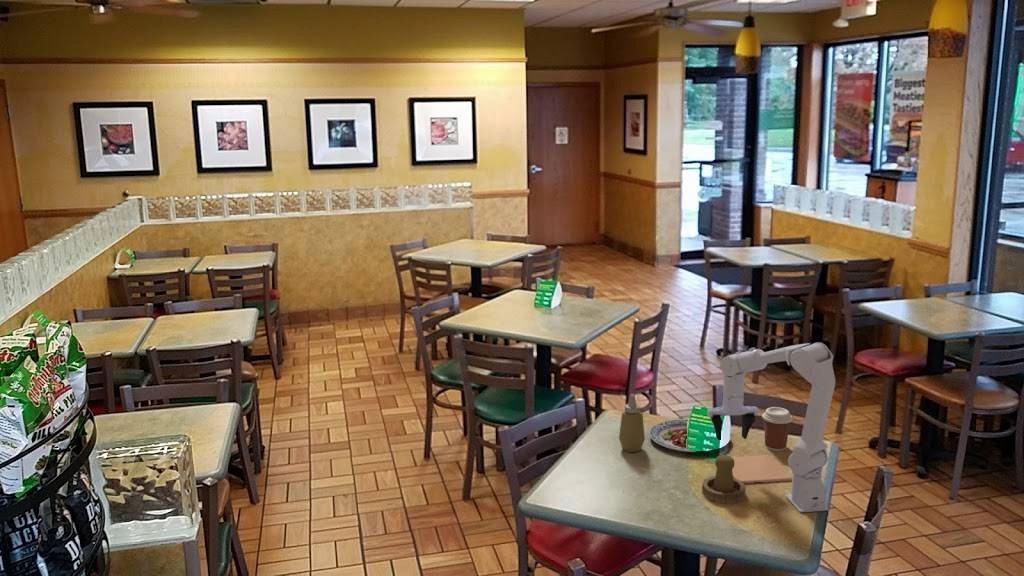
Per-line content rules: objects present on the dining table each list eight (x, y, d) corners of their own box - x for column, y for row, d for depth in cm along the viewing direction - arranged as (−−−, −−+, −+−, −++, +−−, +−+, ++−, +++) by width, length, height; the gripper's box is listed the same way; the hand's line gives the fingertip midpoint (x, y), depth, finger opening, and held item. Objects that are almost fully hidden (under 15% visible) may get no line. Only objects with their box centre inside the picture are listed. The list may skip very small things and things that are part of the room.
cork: (732, 488, 232) (734, 452, 229) (736, 499, 226) (738, 461, 223) (710, 488, 232) (712, 452, 230) (714, 498, 226) (715, 461, 224)
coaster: (791, 480, 236) (791, 477, 236) (737, 483, 234) (737, 481, 234) (769, 457, 251) (769, 454, 251) (718, 460, 250) (718, 457, 250)
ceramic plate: (740, 434, 270) (740, 425, 269) (716, 464, 248) (717, 455, 247) (665, 420, 282) (665, 412, 282) (636, 447, 261) (637, 438, 260)
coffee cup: (755, 441, 263) (757, 406, 260) (783, 440, 264) (785, 404, 261) (767, 453, 254) (769, 417, 251) (795, 451, 255) (798, 415, 252)
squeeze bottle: (613, 446, 261) (614, 393, 257) (635, 441, 265) (636, 388, 261) (627, 456, 254) (628, 401, 250) (649, 451, 257) (650, 396, 253)
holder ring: (751, 501, 224) (751, 493, 223) (710, 504, 223) (710, 496, 222) (735, 482, 235) (736, 474, 235) (697, 485, 234) (697, 477, 233)
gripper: (752, 388, 242) (750, 431, 245) (704, 390, 241) (702, 434, 244) (761, 396, 235) (759, 441, 238) (712, 399, 234) (710, 443, 237)
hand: (731, 438), depth 240 cm, fingers open, 7 cm apart
